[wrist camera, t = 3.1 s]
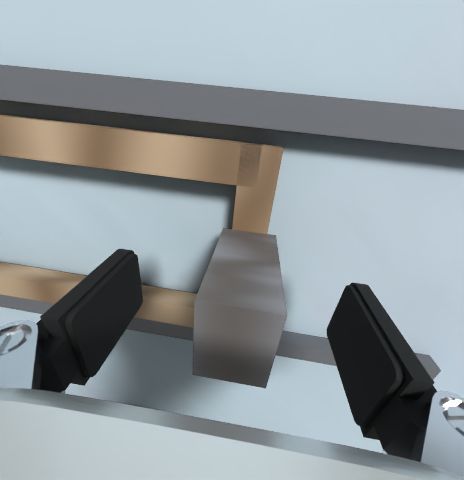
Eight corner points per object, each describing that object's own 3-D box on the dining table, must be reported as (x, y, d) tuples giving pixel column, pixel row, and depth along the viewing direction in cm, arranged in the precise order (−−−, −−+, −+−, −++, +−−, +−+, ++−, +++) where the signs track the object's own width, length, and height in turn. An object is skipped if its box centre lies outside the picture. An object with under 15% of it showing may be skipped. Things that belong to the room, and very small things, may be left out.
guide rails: (610, 128, 10) (652, 128, 9) (420, 367, 18) (430, 382, 17) (-247, 44, 13) (-293, 35, 12) (-81, 280, 21) (-100, 288, 20)
